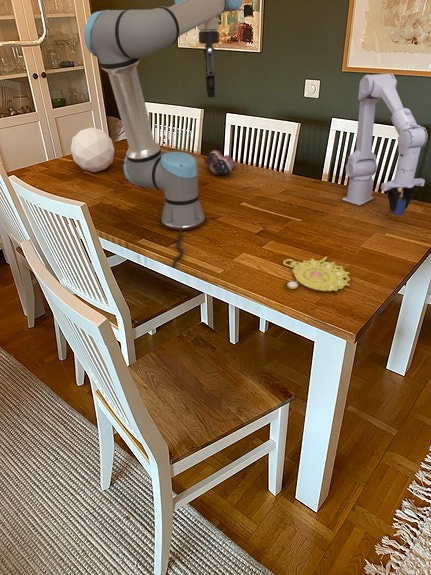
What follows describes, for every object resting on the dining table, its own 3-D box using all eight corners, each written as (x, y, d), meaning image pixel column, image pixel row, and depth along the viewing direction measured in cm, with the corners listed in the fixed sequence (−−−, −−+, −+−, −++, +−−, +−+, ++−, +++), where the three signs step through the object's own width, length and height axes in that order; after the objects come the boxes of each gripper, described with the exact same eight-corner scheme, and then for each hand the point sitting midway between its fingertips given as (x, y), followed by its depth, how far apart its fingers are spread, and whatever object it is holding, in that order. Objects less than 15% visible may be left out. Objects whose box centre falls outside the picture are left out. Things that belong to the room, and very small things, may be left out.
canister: (392, 214, 145) (394, 202, 143) (390, 210, 148) (392, 197, 146) (404, 215, 145) (407, 202, 142) (402, 210, 148) (405, 198, 145)
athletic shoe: (215, 150, 209) (192, 156, 205) (235, 143, 189) (210, 149, 185) (221, 174, 212) (199, 180, 208) (241, 169, 192) (217, 176, 188)
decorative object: (332, 298, 110) (265, 270, 120) (331, 306, 111) (265, 278, 122) (367, 265, 123) (304, 242, 133) (365, 272, 125) (303, 249, 135)
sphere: (101, 187, 208) (88, 161, 190) (70, 166, 213) (54, 139, 194) (127, 159, 213) (117, 131, 194) (96, 140, 218) (83, 111, 199)
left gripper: (220, 32, 149) (222, 99, 161) (217, 28, 170) (218, 88, 182) (198, 32, 149) (201, 100, 161) (198, 29, 170) (200, 89, 182)
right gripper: (393, 174, 134) (385, 216, 141) (434, 169, 137) (424, 210, 144) (380, 167, 139) (373, 208, 147) (420, 162, 143) (411, 202, 150)
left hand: (210, 94), depth 171 cm, fingers open, 13 cm apart
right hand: (397, 208), depth 146 cm, fingers closed on canister, 4 cm apart
